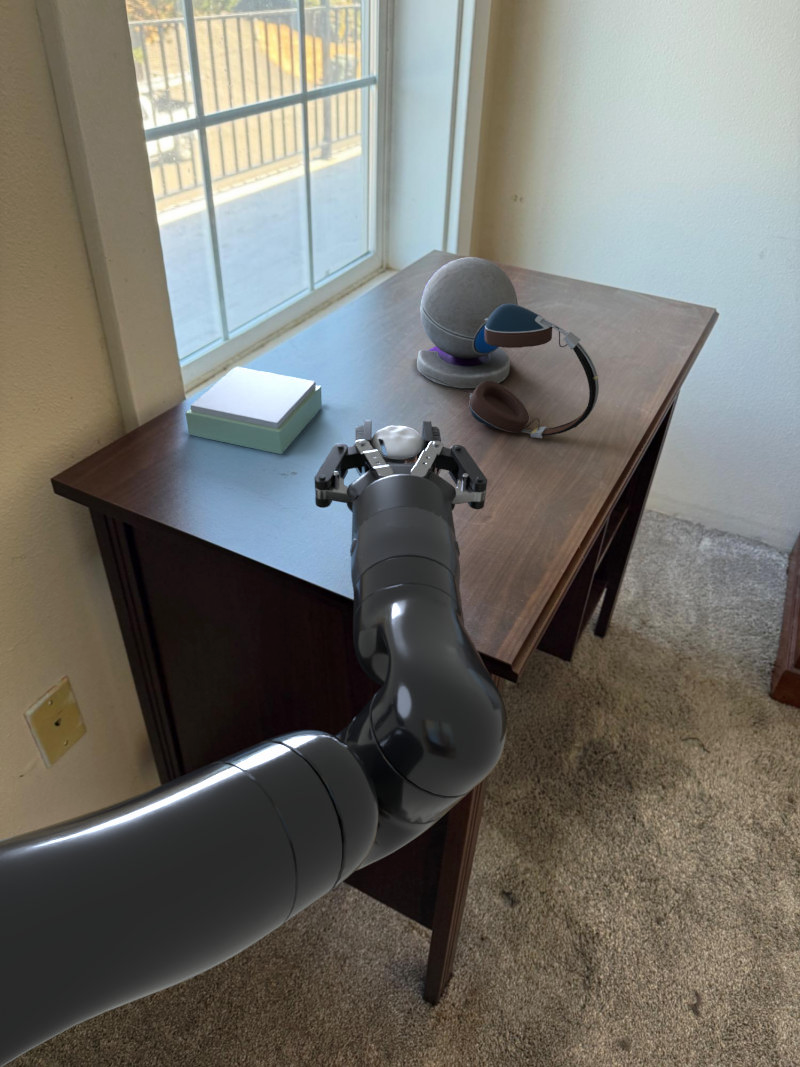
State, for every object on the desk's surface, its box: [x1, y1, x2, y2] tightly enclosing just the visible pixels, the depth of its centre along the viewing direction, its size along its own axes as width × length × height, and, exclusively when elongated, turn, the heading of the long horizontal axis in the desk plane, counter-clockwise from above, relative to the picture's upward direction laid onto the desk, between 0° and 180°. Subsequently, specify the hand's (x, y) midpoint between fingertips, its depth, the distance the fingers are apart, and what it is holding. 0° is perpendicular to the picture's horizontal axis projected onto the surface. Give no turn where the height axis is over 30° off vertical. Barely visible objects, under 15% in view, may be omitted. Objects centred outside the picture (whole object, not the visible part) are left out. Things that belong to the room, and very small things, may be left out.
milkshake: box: [372, 424, 424, 464], centre depth 66 cm, size 4×5×10 cm
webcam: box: [416, 256, 519, 389], centre depth 100 cm, size 13×13×15 cm
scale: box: [185, 366, 323, 455], centre depth 90 cm, size 12×12×4 cm
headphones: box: [420, 304, 600, 439], centre depth 88 cm, size 6×15×22 cm
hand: (397, 430), depth 66 cm, fingers closed on milkshake, 4 cm apart
